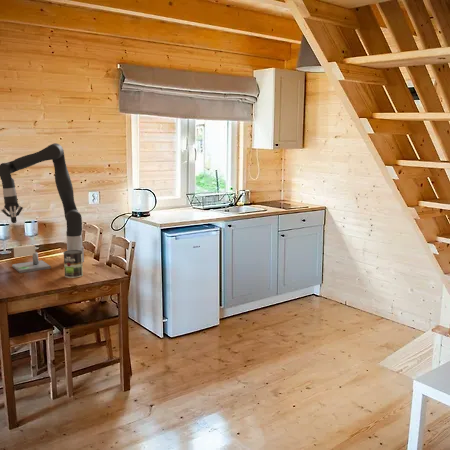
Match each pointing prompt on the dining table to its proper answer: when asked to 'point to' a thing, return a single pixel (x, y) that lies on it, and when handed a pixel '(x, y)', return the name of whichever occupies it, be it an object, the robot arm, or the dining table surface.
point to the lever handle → (26, 252)
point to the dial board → (30, 266)
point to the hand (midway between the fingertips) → (14, 223)
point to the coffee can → (73, 263)
